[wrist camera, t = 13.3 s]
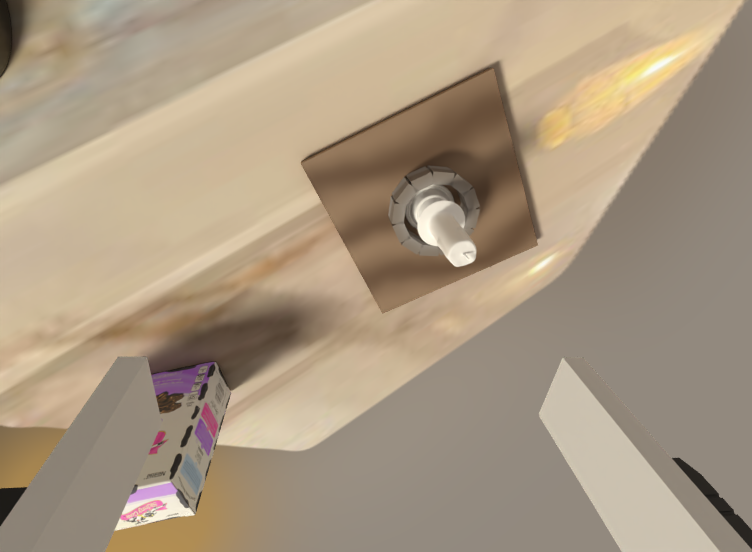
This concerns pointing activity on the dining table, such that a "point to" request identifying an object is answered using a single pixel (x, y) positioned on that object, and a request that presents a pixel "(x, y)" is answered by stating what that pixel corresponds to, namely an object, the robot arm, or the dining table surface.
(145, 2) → the dining table surface
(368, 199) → the flange board
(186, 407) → the candy box
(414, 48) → the dining table surface
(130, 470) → the robot arm
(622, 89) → the dining table surface
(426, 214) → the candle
